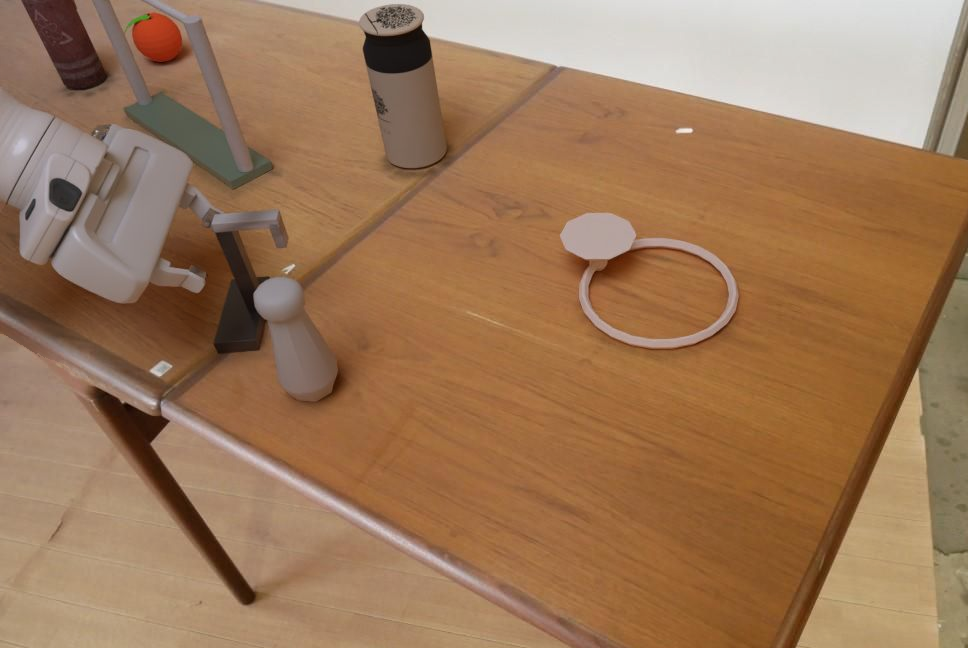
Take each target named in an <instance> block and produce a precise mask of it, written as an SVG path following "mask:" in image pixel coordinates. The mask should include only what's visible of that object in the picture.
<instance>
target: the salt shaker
mask: <svg viewBox="0 0 968 648" xmlns="http://www.w3.org/2000/svg"><path fill="white" fill-rule="evenodd" d="M253 295H254V304H255V308H256V310H257V312H258V313H259V314H260V315H261V316H262V317H263V318H264V319H265V320H266V321H267V324H268V329H269V330H268V331H269V334H270V335H269V336H270V341H271V347H272V351H273V358H274V366H275V372H276V380H277V382H278V385H279V386H280V387H281V388H282V389H283V390H284V391H285V393H287V394H288V395H290V396H291V397H293V398H294V399H295V400H296V401H300V402H309V403H317V402H318V401H320V400H322V399H323V398H325V397H327V396H328V395H330V394H331V393H333V387H334V384H335V381H336V378H337V376H338V373H339V366H338V359H337V357H336V355H335V353H334V352H333V351H332V348H331V347H330V346H329V344H328V343H327V341H326V339H325V338H324V337H323V335H322V333H321V332H320V331H319V329H318V328H317V327H316V324H315V323H314V322H313V320H312V319H311V317H310V316H309V314H308V312H307V311H306V308H304V307H305V305H306V295H305V292H304V288H303V287H302V285H301V284H300V283H299V282H298V281H297V280H296V279H295V278H291V277H288V276H274V277H270V279H268V280H266V281H264V282H263V283H262V284H260V285H259V286H258V288H257V289H256V291H255V292H254V294H253Z"/></svg>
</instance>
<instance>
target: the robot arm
mask: <svg viewBox="0 0 968 648" xmlns="http://www.w3.org/2000/svg"><path fill="white" fill-rule="evenodd" d="M194 167H195V164H194V162H193V161H191V159H190V158H189V157H188V156H187V155H186V154H185V153H184V152H182V151H180V150H178V149H176V148H174V147H172V146H170V145H168V144H167V143H165V142H164V141H162V140H161V139H159V138H157V137H156V138H155V137H154V136H151V135H149V134H146V133H144V132H142V131H139V130H136V129H133V128H129V127H128V128H125V127H123V126H121V125H119V124H116V123H111V124H108V123H107V124H103V125H102V124H97V125H96V126H95V127H94V128H93V129H92V132H91V134H89V133H88V132H86V131H83V130H82V129H80V128H79V127H77V126H75V125H73V124H71V123H69V122H67V121H65V120H64V119H62V118H60V117H58V116H56V115H55V114H52V113H50V112H47V111H43V110H39V109H37V108H34V107H31V106H29V105H27V104H25V103H23V102H22V101H20V100H19V99H17V98H16V97H15V96H13V95H12V94H11V93H10V92H9V91H8V90H7V89H5V88H4V87H3V86H1V85H0V214H1V213H2V211H3V209H4V208H5V207H6V206H7V205H9V206H11V207H14V208H16V209H18V210H19V215H18V216H19V254H20V256H21V257H22V258H23V259H24V260H26V261H28V262H30V263H33V264H35V265H38V266H44V265H46V264H47V263H48V262H49V261H50V264H51V267H52V268H53V269H54V271H55V272H56V273H57V274H58V275H59V276H61V277H63V278H64V279H66V280H67V281H68V282H71V283H72V284H74V285H76V286H77V287H80V288H82V289H84V290H86V291H89V292H91V293H93V294H95V295H97V296H99V297H102V298H104V299H106V300H109V301H110V302H113V303H117V304H134V303H136V302H138V301H139V299H140V298H141V296H142V295H143V293H144V292H145V290H146V289H147V288H148V286H149V284H150V283H151V284H153V285H155V286H158V287H181V288H183V289H186V290H187V291H189V292H192V293H194V294H200V292H201V291H202V290H203V289H204V287H205V285H206V282H207V279H208V273H207V271H205V270H202V269H199V267H197V266H195V265H193V264H191V265H190V266H189V267H188V269H186V268H181V267H180V268H179V267H173V266H171V261H170V260H169V261H168V260H167V259H165V258H163V257H161V253H162V251H163V248H164V246H165V243H166V240H167V238H168V235H169V232H170V229H171V227H172V224H173V222H174V219H175V217H176V215H177V214H176V213H177V211H178V209H179V207H180V208H181V209H183V210H187V209H189V210H190V211H191V212H192V213H194V215H196V216H197V217H198V218H199V219H200V220H201V222H200V226H202V227H205V228H206V229H209V230H210V231H211V232H214V230H213V227H212V225H211V224H212V221H213V217H214V215H215V214H226V212H225V211H223V210H221V209H219V208H218V207H216V206H215V205H212V203H211V202H210V201H209V200H208V198H207V197H206V196H205V195H204V194H203V193H202V191H201V190H200V189H199V188H197V187H195V186H193V185H192V184H190V183H188V182H189V180H190V177H191V175H192V173H193V170H194Z"/></svg>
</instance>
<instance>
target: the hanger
mask: <svg viewBox="0 0 968 648" xmlns="http://www.w3.org/2000/svg"><path fill="white" fill-rule="evenodd" d="M225 213H226V212H225ZM211 225H212V227H213V230H214V231H213V232H214V234H215V237H216V239H217V241H218V244H219V246H220V249H221V250H222V253H223V255H224V257H225V260H226V262H227V265H228V267H229V270H230V272H231V274H232V276H233V278H231V279H230V283H229V286H228V290H227V293H226V297H225V300H224V303H223V307H222V310H221V314H220V318H219V321H218V325H217V328H216V332H215V336H214V338H213V339H214V340H213V343H212V344H213V346H214V348H215V350H216V353H217V354H229V353H238V352H251V351H252V352H253V351H259V350H260V346H261V343H262V342H261V341H262V337H263V334H264V329H265V325H266V321H267V320H265V319H264V318H263V317H262V316H261V315H260V314H259V313H258V312H257V310H256V308H255V304H254V295H253V294H254V292H255V291H256V289H257V288H258V286H259V285H260V284H262V283H263V282H264V281H266V280H268V279H271V276H270V275H268V276H267V275H265V276H257V275H256V272H255V270H254V267H253V265H252V262H251V259H250V257H249V255H248V252H247V249H246V247H245V245H244V242H243V240H242V237H241V235H240V232H239V231H253V230H265V229H269V231H270V234H271V237H272V239H273V242H274V245H275V247H276V249H286V248H288V242H289V238H290V237H289V235H288V231H287V228H286V225H285V223H284V220H283V216H282V214H281V211H280V209H277V208H276V209H266V210H253V211H251V210H250V211H241V212H239V211H238V212H227V213H226V214H215V215H214V217H213V221H212V224H211Z"/></svg>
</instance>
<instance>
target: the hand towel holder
mask: <svg viewBox="0 0 968 648" xmlns="http://www.w3.org/2000/svg"><path fill="white" fill-rule="evenodd" d="M559 237H560V240H561V242H562V244H563V247H564V250H565V251H567V252H569V253H570V254H572V255H574V256H577V257H579V258H580V259H583V260H585V261H588V264H589V265H588V266H587V268H586V269H585V270H584V271H583V274H582V276H581V279H580V281H579V283H578V300H579V303H580V305H581V307H582V311H583V313H584V314H585V315H586V317H587V318H588V319H589V320H590V321H591V322H592V324H593V325H594V326H595V327H596V328H597V329H599V330H600V331H601V332H603V333H604V334H606V335H607V336H609V337H610V338H612V339H614V340H617V341H618V342H622V343H624V344H626V345H629V346H632V347H638V348H644V349H649V350H673V349H679V348H684V347H689V346H693V345H695V344H698V343H699V342H700V343H701V342H702V341H705V340H707V339H710V338H711V337H713V336H714V334H716V333H717V332H719V331H720V330H721V329H723V328H724V327H725V326H726V325H727V324H728V323H729V321H730V320H731V318H732V317H733V316H734V315H735V313H736V311H737V308H738V302H739V298H740V295H739V289H738V283H737V280H736V279H735V277H734V276H733V274H732V272H731V270H730V269H729V267H728V266H727V265H726V263H724V262H723V261H722V260H721V259H720V258H719V257H718V256H717V255H716V254H714V253H712V252H710V251H709V250H707V249H706V248H703V247H702V246H700V245H696V244H694V243H691V242H687V241H685V240H680V239H673V238H667V237H645V238H639V239H636V237H637V233H636V231H635V229H634V227H633V225H632V224H631V222H630V220H627V219H625V218H623V217H622V216H619V215H616V214H614V213H611V212H586V213H583V214H581V215H579V216H577V217H575V218H573V219H569V220H568V221H567V222H566V224H565V226H564V227H563V229H562V231H561V232H560V234H559ZM644 248H646V249H648V248H651V249H652V248H653V249H654V248H664V249H669V250H670V249H672V250H676V251H677V250H678V251H683V252H685V253H687V254H692V255H694V256H697V257H699V258H701V260H704V261H706V262H708V263H710V264H711V265H712V266H714V268H716V270H718V271H719V273H720V274H721V275H722V277H723V279H724V281H725V282H726V285H727V291H728V299H727V303H726V306H725V309H724V310H723V312H722V313H721V315H720V316H719V318H718V319H717V320H716V321H714V322H713V323H712V324H711V325H709V326H708V327H707V328H705V329H702V330H700V331H698V332H696V333H694V334H690V335H684V336H680V337H676V338H675V337H674V338H648V337H642V336H636V335H631V334H629V333H627V332H624V331H621V330H619V329H616V328H614V327H613V326H611V325H610V324H609V323H606V322H605V321H603V319H602V318H601V317H600V315H599V314H597V312H596V311H595V310H594V308H593V305H592V303H591V301H590V298H589V285H590V283H591V280H592V277H593V275H594V274H595V272H602V271H603V270H605V269H606V267H607V265H608V263H609V261H611V260H612V259H614V258H616V257H618V256H620V255H623V254H624V253H627V252H629V251H635V250H641V249H644Z"/></svg>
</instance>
